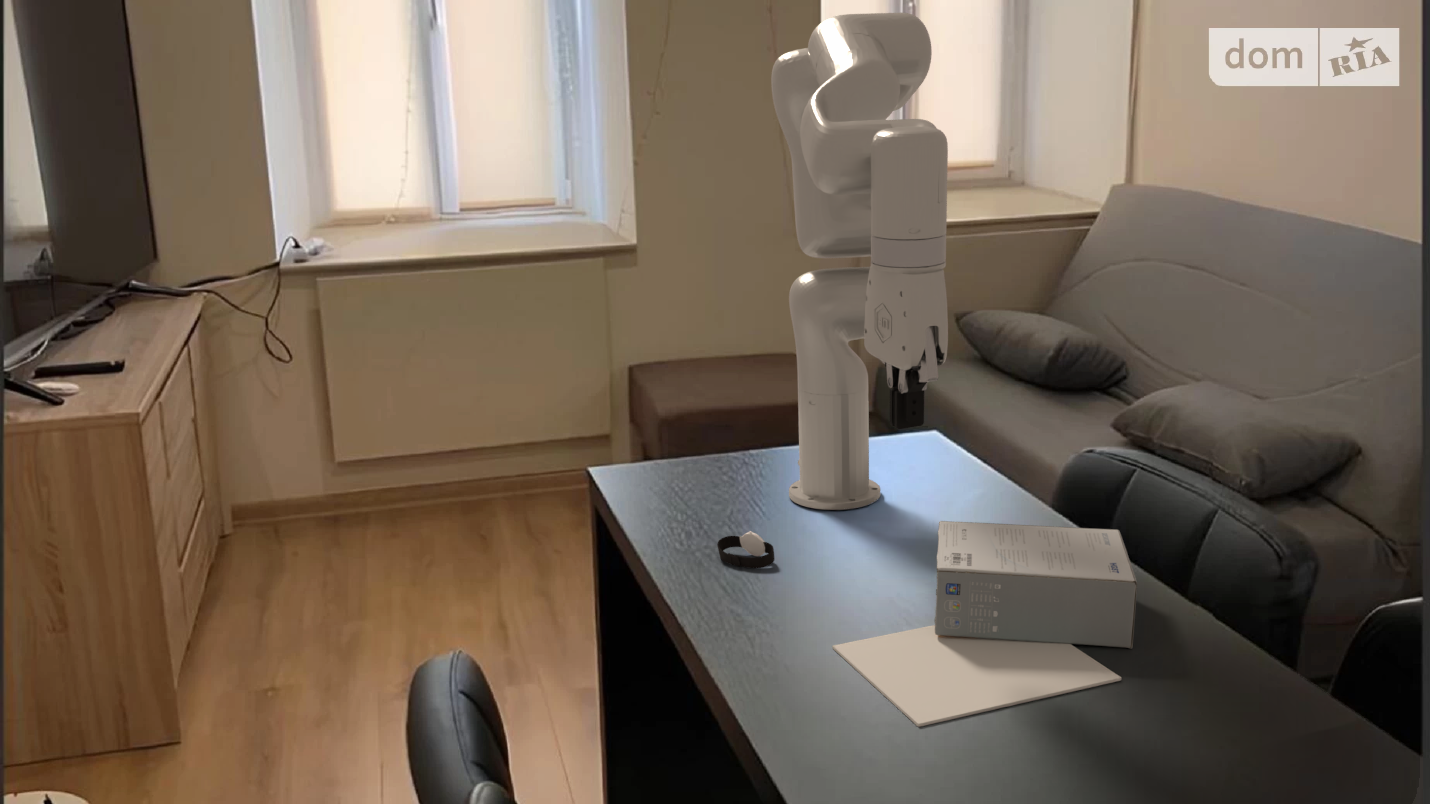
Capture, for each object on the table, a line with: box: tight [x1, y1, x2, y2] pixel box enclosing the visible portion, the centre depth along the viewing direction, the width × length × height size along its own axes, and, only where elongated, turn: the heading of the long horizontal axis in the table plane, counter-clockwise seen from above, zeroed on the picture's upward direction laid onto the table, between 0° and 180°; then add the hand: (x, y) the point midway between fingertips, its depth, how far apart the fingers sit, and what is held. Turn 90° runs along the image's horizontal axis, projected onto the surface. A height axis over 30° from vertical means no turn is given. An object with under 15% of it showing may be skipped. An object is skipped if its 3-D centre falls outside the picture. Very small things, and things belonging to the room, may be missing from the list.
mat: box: [832, 624, 1122, 728], centre depth 130 cm, size 18×22×1 cm
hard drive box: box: [934, 520, 1138, 649], centre depth 140 cm, size 16×8×20 cm
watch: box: [717, 530, 775, 569], centre depth 159 cm, size 8×5×4 cm, turn 54°
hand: (906, 425), depth 137 cm, fingers closed
